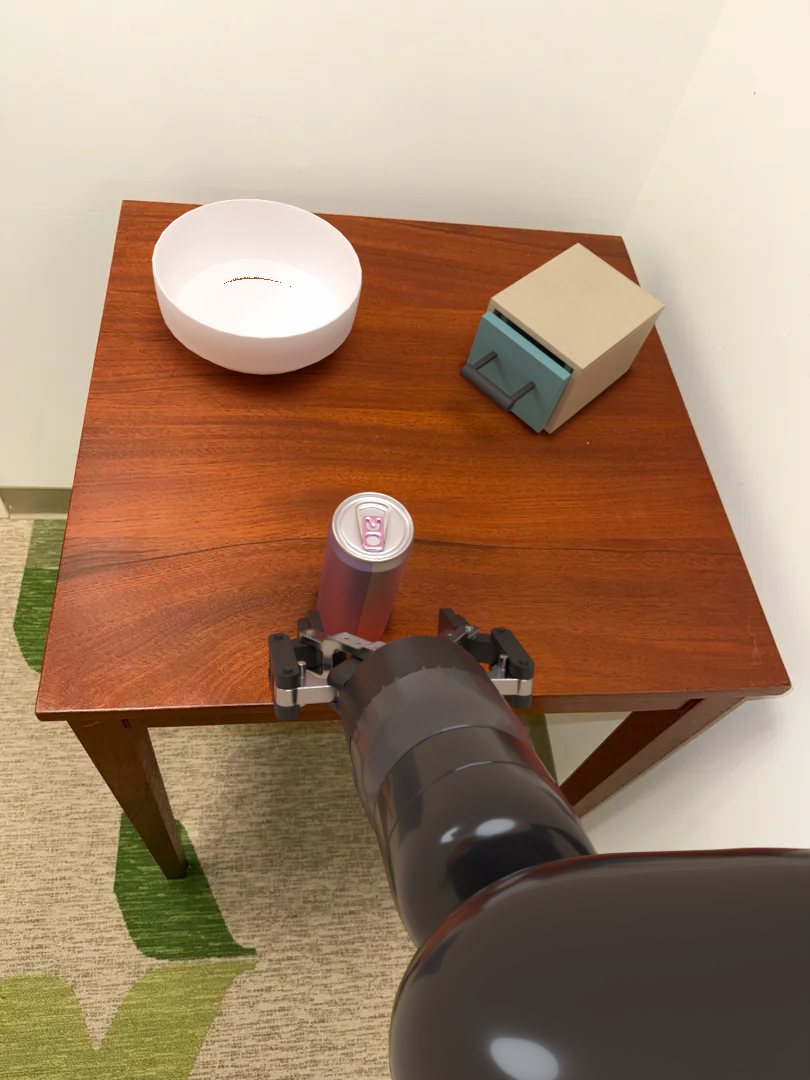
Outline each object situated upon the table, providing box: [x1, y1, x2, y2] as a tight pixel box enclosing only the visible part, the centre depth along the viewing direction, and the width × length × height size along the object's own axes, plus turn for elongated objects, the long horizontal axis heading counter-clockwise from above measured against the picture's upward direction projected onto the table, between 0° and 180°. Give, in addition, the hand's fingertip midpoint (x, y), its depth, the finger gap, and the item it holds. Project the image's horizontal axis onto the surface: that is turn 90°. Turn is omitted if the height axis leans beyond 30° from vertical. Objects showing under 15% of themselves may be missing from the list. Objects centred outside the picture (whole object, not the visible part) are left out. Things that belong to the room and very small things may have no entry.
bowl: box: [151, 198, 363, 375], centre depth 76 cm, size 20×20×8 cm
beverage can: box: [315, 491, 415, 643], centre depth 58 cm, size 6×6×15 cm
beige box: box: [485, 242, 666, 434], centre depth 80 cm, size 15×12×10 cm
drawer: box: [459, 311, 574, 434], centre depth 78 cm, size 18×10×8 cm, turn 136°
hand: (378, 623), depth 49 cm, fingers open, 8 cm apart
